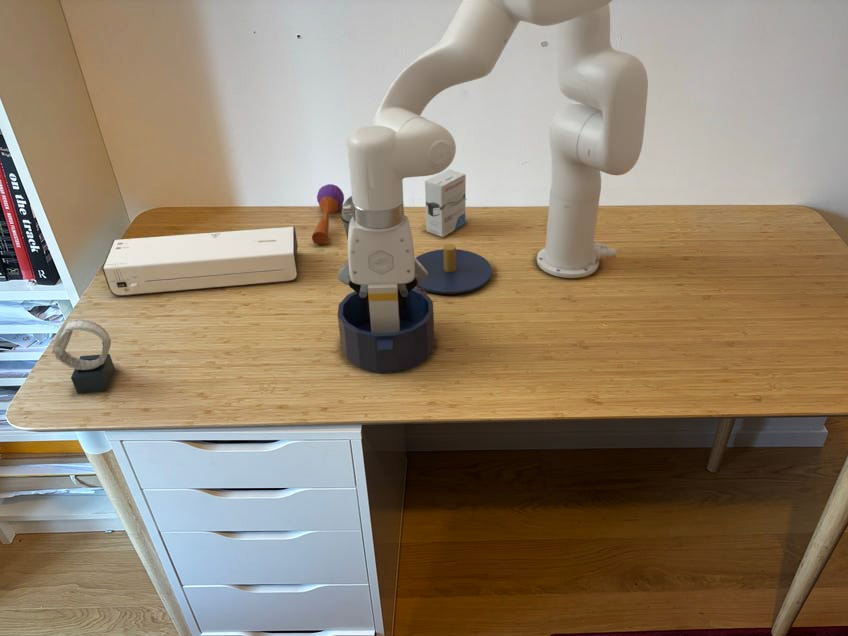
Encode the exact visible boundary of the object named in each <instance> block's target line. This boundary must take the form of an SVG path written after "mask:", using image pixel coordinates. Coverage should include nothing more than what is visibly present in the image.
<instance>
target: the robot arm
mask: <svg viewBox="0 0 848 636" xmlns="http://www.w3.org/2000/svg"><path fill="white" fill-rule="evenodd" d="M611 2H613V0H462V1H461V2H460V5H459V6H458V9H456V12H455V14H454V16H453V18H452V19H451V21H450V23H449V25H448V27H447V29H446V30H445V32H444V34H443V35H442V37H441V38H440V40H439V41H438V42H437V43H435V44H434V45H432V46H431V47H430V48H428V49H427V50H425V51H424V52H423V53H421V54H420V55H419V56H418V57H416V58H415V59H414V60H413V61H412V62H411V63H409V64H408V65H407V66H406V67H405V68H403V69H402V71H400V73H399V74H397V76H396V77H395V78H394V80H393V81H392V83H391V84H390V86H389V88H388V89H387V91H386V92H385V95H384V97H383V99H382V100H381V103H380V104H379V106H378V108H377V109H376V113H375V115H374V118H373V121H372V125H365V126H360V127H358V128H356V129H353V130H352V132H350V133H349V135H348V138H347V155H348V166H349V178H350V189H351V196H352V201H353V202H351V204H348V205H344V204H343V205H342V208H343V212H344V214H349V215H352V218H351V220H350V223H349V230H348V240H347V254H348V255H347V256H348V259H347V260H346V261H345V263H344V264H343V266H342V267H341V268H340V270H339V271H338V273H337V276H336V277H337V280H338V281H339V282H341V283H342V284H344V285H347V286H349V288H350V289H352V290H353V292H354V291H356V292H357V293H358V294H359V296H360V297H361V298H362V308H363V311H367V318H370V307H369V298H368V284H397V285H398V288H399V289H398V306H399V317H400V318H403V310H407V296H408V293H409V292H410V291H411V290H412V289H413V288H416V287H418V286H417V284H418V283H420V282H422V281H423V280H425V279H426V278H427V277H428V272H427V270H426V269H425V268H424V267H423V266H422V264H421V263H420V262H419V261H418V260H417V259H416V256H415V249H414V240H413V234H412V229H411V228H412V227H411V225H410V220H409V218H408V216H407V215H405V208H404V185H403V184H404V183H403V180H404V179H405V178H417V177H418V178H419V177H429V176H435V175H438V174H440V173H443V172H444V171H446V170H447V168H449V166H450V165H451V164H452V163H453V161H454V159H455V157H456V151H457V145H456V140H455V139H454V136H453V135H452V134H451V132H449V130H448V129H446V128H445V127H444V126H442V125H441V124H439V123H437V122H434V121H432V120H431V119H427V118H426V117H423V116H422V113H423V112H424V110H425V109H426V107H427V106H428V105H429V104H430V102H431V101H432V100H433V99H434V98H435V97H437V96H438V95H439V94H440V93H442V92H443V91H445V90H448V89H449V88H452V87H454V86H457V85H460V84H464V83H469V82H472V81H475V80H479V79H482V78H485V77H487V76H488V75H489V74H491V73H492V71H493V70H494V68H495V66H496V65H497V62H498V60H499V59H500V57H501V55H502V54H503V52H504V50H505V48H506V46H507V44H508V42H509V41H510V39H511V37H512V35H513V34H514V32H515V30H516V29H517V27H518V25H519V23H520V22H525V23H529V24H532V25H536V26H540V27H550V26H555V25H557V34H558V35H557V37H558V39H557V41H558V42H557V46H558V47H557V48H558V49H557V78H558V80H557V81H558V87H559V90H560V92H561V93H562V95H563V96H564V97H566V98H567V99H569V100H572V101H574V102H576V103H570V104H567V105H565V106H563V107H561V108H559V110H558V111H557V112H555V114H554V115H553V118H552V120H551V122H550V126H549V132H548V133H549V135H548V137H549V148H550V157H551V158H550V159H551V177H550V178H551V179H550V189H549V201H548V211H547V212H548V213H547V224H546V235H545V236H546V237H545V245H544V246H545V247H543V248H541V249H540V250H539V252H538V253H537V255H536V265H538V267H539V269H541V270H542V271H543V272H545V273H547V274H549V275H551V276H554V277H558V278H564V279H580V278H585V277H587V276H590V275H592V274H594V273H595V272H596V271H597V270H598V268H599V264H600V259H601V258H616V257H617V248H616V247H608V243H606V242H603V243H601V242H600V243H596V242H595V235H596V227H597V220H598V213H599V205H600V198H601V192H602V175H601V172H602V173H605V174H607V175H610V176H622V175H626V174H627V173H629V172H630V171H631V170H632V169H633V168H634V166H635V165H637V162H638V160H639V158H640V156H641V153H642V149H643V143H644V135H645V127H646V125H645V124H646V114H647V103H648V93H649V92H648V91H649V79H648V73H647V70H646V68H645V65H644V64H643V62H642V61H641V60H640V59H639V58H638V57H637V56H635V55H632V54H630V53H627V52H624V51H620V50H616V49H614V48H613V47H612V43H611V10H610V9H611V8H610V3H611ZM415 272H416V274H415Z"/></svg>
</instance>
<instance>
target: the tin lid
mask: <svg viewBox="0 0 848 636" xmlns="http://www.w3.org/2000/svg"><path fill="white" fill-rule="evenodd" d="M442 248H443V249H442ZM442 248H441V249H434V250H430V251H427V252H424V253H422V254H419V255H418V256H415V258H416V259H417V260H418V261H419V262H420V263H421V264H422V266H423V267H424V268H425V269H426V270H427V272H428V277H427V278H426V279H425V280H423V281H422V282H420V283H418V284H417V286H416V287H418V288H420V289H422V290H424V291H427V292H430V293H434V294H441V295H456V294H464V293H470V292H473V291H475V290H478V289H480V288H482V287H483V286H485V285H486V284H487V283H488V282H489V281H490V280H491V277H492V275H493V268H492V265H491V263H490V262H489V260H487V259H486V258H485V257H483V256H482V255H480V254H478V253H475V252H472V251H469V250H466V249H465V250H464V249H460V248H459V249H458V248H457V246H456V245H455V244H452V243H447V244H444V245H443V246H442ZM415 274H416V272H415Z"/></svg>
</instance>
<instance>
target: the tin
mask: <svg viewBox="0 0 848 636" xmlns="http://www.w3.org/2000/svg"><path fill="white" fill-rule="evenodd" d="M434 312H435V311H434V301H433V300H432V299H431V298H430V296H428V294H427V293H426V292H425V291H422V290H421V289H419V288H416V287H414V288H413V289H412V290H411V291H410V292H409V293H408V296H407V310H403V318H400V331H398V332H392V333H373V332H371V320H370V318H367V311H363V308H362V298H361V297H360V296H359V294H358V293H357V292H356V291H354V290H353V291H352V292H350V293H348V294H347V295H345V296H344V298H343V299H342V300H341V301H340V302H339V304H338V309H337V323H338V330H339V331H338V332H339V338H340V347H341V351H342V353H343V355H344V357H345V359H346V360H347V361H348V362H349V363H350V364H351V365H353V366H355V367H356V368H358V369H360V370H363V371H367V372H372V373H378V374H391V373H399V372H404V371H407V370H411V369H413V368H415V367H417V366H419V365H421V364H422V363H424V362H425V361H426V360H427V359H428V358H429V357H430V356H431V354H432V353H433V350H434V347H435V321H434V320H435V316H434Z"/></svg>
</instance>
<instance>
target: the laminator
mask: <svg viewBox="0 0 848 636" xmlns="http://www.w3.org/2000/svg"><path fill="white" fill-rule="evenodd" d="M298 247H299V246H298V239H297V232H296V227H295V226H283V227H269V228H258V229H243V230H232V231H231V230H230V231H216V232H205V233H204V232H203V233H190V234H176V235H175V234H174V235H164V236H163V235H162V236H150V237H149V236H148V237H137V238H124V239H123V238H122V239H113V240H112V243H111V245H110V247H109V250H108V253H107V255H106V258H105V260H104V262H103V265H102V267H101V268H102V273H103V276H104V278H105V281H106V285H107V287H108V290H109V291H110V294H112V295H113V296H116V297H129V296H131V297H132V296H141V295H151V294H152V295H155V294H165V293H176V292H185V291H186V292H188V291H198V290H199V291H200V290H209V289H211V290H212V289H220V288H221V289H223V288H232V287H233V288H234V287H245V286H256V285H257V286H258V285H267V284H276V283H277V284H279V283H290V282H293V281H296V280H297V279H298V276H299V275H298V274H299V270H298Z"/></svg>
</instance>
